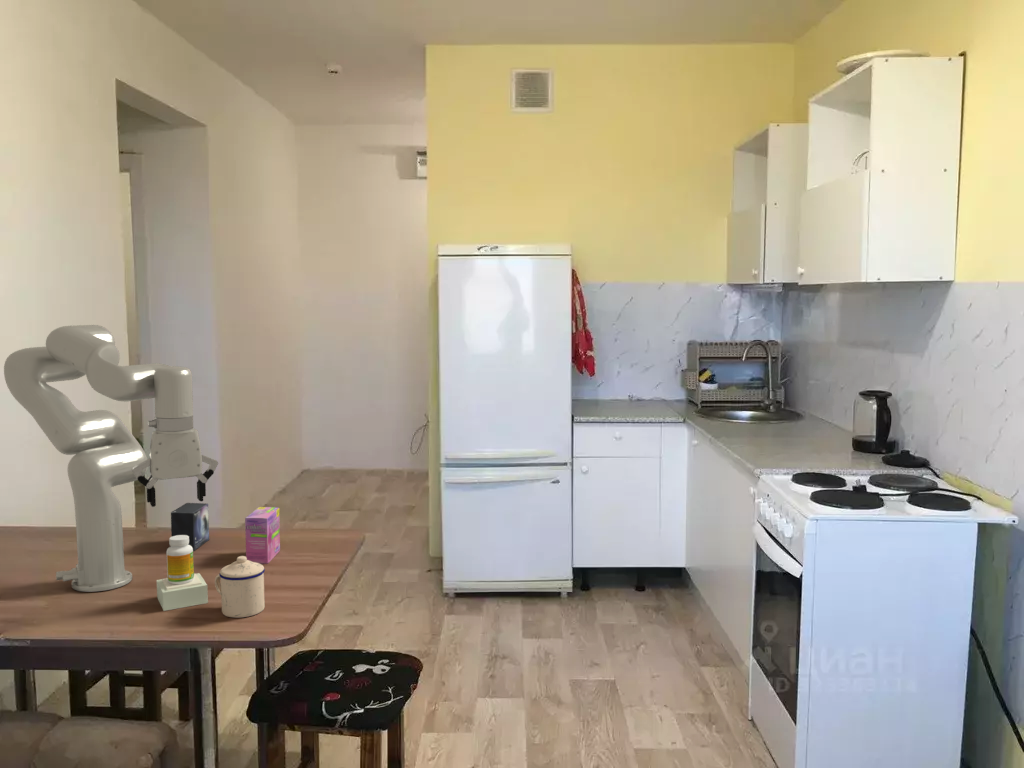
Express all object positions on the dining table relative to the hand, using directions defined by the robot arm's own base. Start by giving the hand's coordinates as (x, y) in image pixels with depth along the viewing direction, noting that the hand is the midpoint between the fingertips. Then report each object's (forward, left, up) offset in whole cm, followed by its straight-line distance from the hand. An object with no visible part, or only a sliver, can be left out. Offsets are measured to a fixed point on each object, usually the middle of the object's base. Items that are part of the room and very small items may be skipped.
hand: (176, 502), depth 179 cm
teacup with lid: (+10, -12, -22) cm, 27 cm away
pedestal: (0, 0, -22) cm, 22 cm away
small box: (+9, +41, -22) cm, 47 cm away
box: (+23, +21, -22) cm, 38 cm away
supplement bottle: (0, 0, -18) cm, 18 cm away
